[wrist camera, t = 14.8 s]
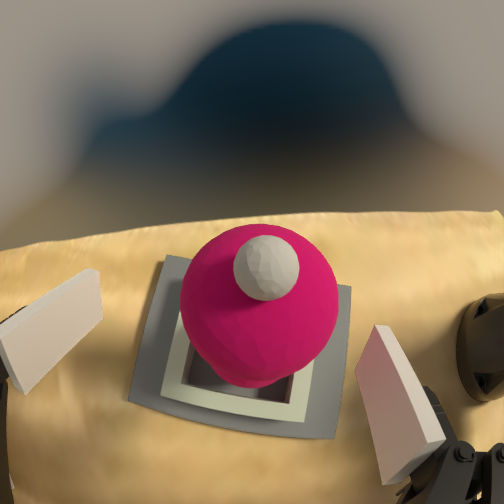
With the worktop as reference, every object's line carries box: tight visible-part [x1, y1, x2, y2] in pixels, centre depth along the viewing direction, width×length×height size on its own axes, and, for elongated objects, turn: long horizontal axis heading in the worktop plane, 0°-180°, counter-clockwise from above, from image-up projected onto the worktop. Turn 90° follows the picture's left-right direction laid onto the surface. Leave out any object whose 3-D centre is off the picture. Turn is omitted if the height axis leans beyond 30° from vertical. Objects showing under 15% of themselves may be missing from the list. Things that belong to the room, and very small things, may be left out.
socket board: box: [128, 255, 351, 439], centre depth 24 cm, size 20×16×4 cm
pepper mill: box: [180, 224, 339, 388], centre depth 16 cm, size 7×7×20 cm
